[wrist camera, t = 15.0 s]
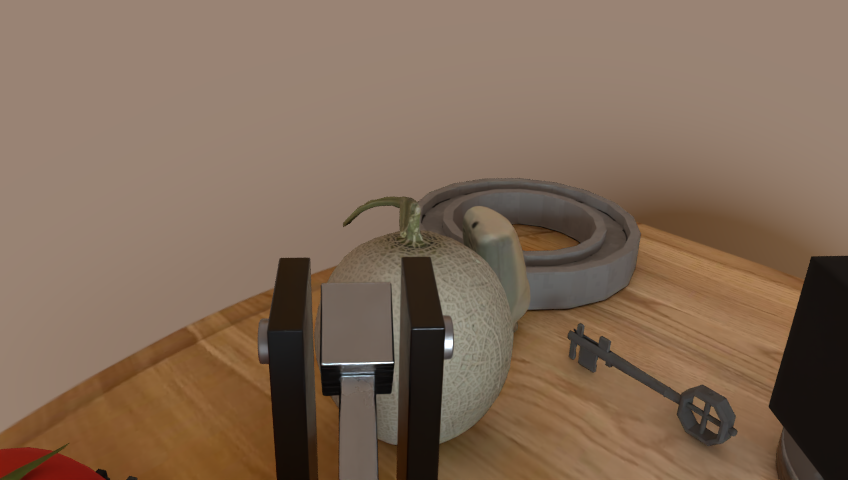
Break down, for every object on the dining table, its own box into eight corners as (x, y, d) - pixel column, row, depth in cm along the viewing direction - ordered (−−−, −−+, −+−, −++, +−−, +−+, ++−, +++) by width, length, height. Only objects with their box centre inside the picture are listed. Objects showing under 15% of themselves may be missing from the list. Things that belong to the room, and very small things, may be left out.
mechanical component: (437, 198, 73) (438, 169, 72) (635, 222, 69) (640, 192, 68) (381, 287, 57) (381, 251, 56) (634, 326, 53) (641, 288, 52)
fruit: (414, 342, 51) (422, 125, 44) (542, 434, 43) (574, 187, 36) (275, 401, 45) (259, 160, 38) (393, 521, 37) (399, 244, 30)
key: (734, 454, 42) (747, 406, 40) (724, 462, 41) (737, 413, 40) (571, 352, 50) (577, 309, 49) (561, 357, 50) (566, 313, 48)
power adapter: (430, 319, 53) (435, 214, 50) (481, 295, 56) (489, 194, 53) (492, 355, 49) (501, 244, 46) (542, 327, 53) (555, 221, 49)
